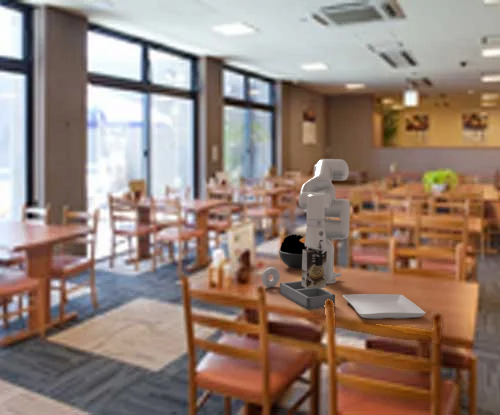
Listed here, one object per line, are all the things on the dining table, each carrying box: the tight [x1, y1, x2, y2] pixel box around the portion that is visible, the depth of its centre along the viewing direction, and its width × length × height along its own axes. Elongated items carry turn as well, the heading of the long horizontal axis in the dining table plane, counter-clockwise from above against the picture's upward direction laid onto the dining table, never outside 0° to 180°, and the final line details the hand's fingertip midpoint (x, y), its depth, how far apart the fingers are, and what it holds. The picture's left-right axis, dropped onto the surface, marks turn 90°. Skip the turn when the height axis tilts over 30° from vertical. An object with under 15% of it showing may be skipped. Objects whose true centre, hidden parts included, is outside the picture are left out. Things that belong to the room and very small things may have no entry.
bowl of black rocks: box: [278, 233, 306, 270], centre depth 286 cm, size 20×20×19 cm
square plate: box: [342, 293, 427, 320], centre depth 214 cm, size 27×27×4 cm
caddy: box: [279, 280, 336, 310], centre depth 228 cm, size 26×13×5 cm, turn 24°
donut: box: [261, 266, 280, 288], centre depth 247 cm, size 10×4×10 cm, turn 123°
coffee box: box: [301, 249, 327, 289], centre depth 220 cm, size 9×6×16 cm
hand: (314, 263), depth 220 cm, fingers closed on coffee box, 6 cm apart
